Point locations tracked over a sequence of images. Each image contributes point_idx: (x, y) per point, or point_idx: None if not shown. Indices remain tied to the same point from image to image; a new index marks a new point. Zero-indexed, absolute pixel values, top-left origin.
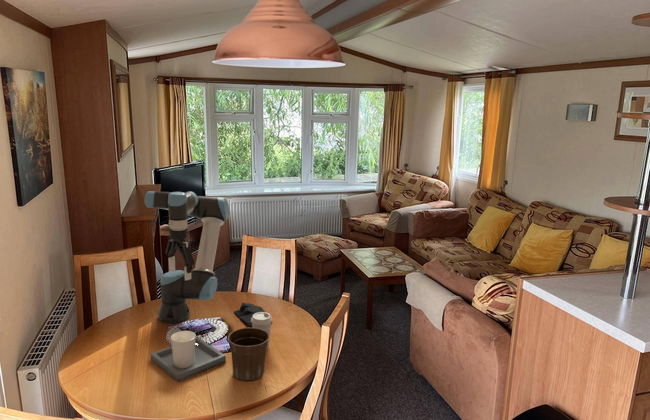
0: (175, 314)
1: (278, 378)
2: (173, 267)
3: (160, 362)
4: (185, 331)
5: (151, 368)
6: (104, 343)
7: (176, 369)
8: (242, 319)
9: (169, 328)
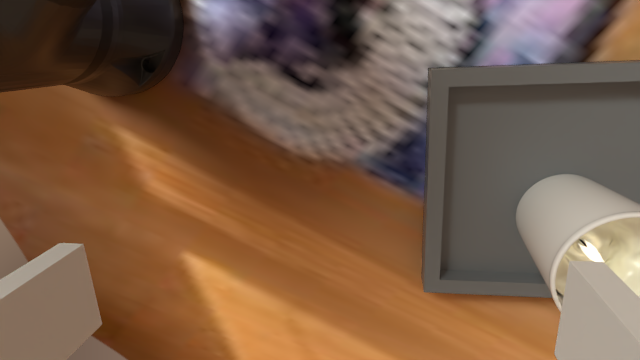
0: (153, 44)
1: None
2: (45, 302)
3: (508, 293)
4: (578, 237)
5: (477, 301)
6: (200, 326)
7: None
8: None
9: (217, 97)
